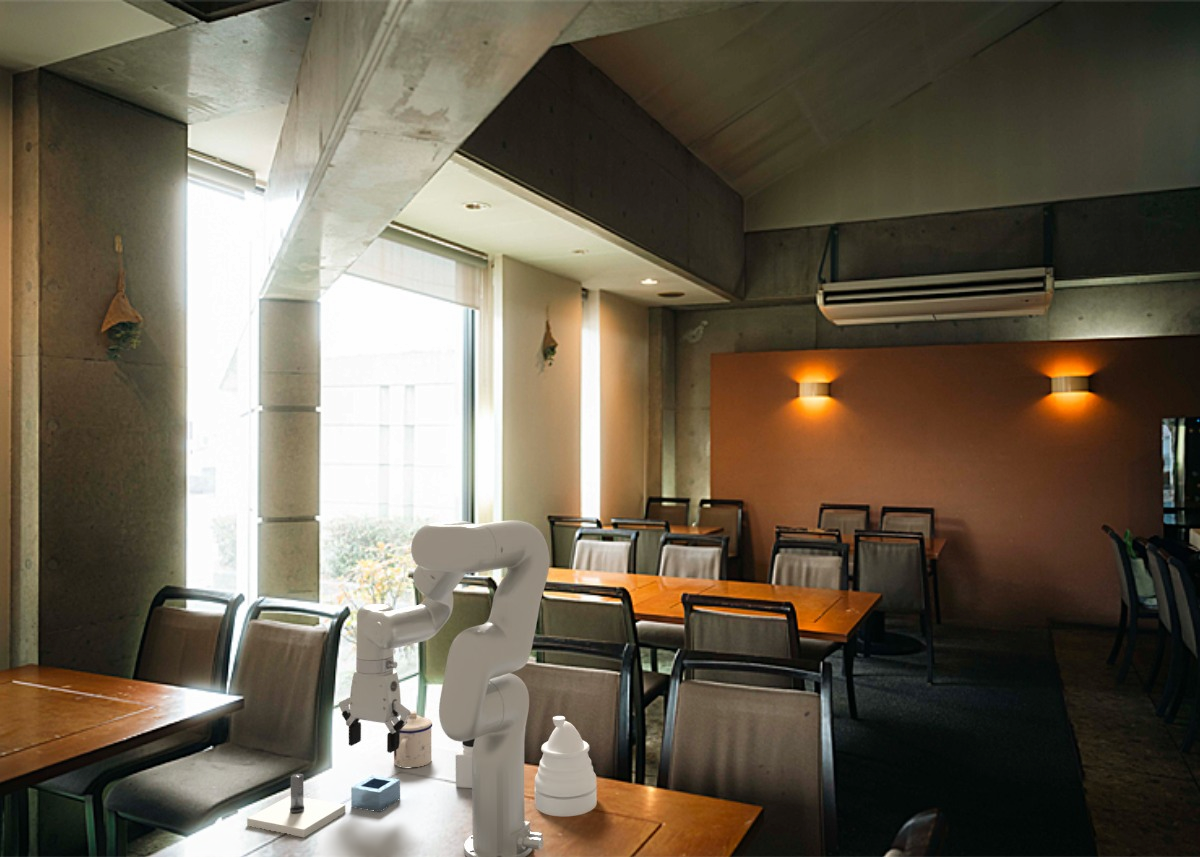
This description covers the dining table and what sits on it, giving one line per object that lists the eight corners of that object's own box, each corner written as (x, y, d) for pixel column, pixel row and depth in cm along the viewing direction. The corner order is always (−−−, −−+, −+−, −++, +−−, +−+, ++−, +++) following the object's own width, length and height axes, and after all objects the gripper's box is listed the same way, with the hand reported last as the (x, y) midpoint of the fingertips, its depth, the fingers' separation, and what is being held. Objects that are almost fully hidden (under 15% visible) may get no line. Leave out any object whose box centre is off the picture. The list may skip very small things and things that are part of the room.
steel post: (307, 809, 170) (307, 774, 170) (297, 815, 167) (297, 779, 167) (296, 807, 171) (296, 772, 171) (286, 813, 168) (286, 777, 168)
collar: (400, 798, 178) (400, 779, 178) (379, 812, 172) (379, 792, 172) (372, 794, 181) (372, 775, 181) (351, 807, 174) (351, 787, 174)
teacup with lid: (400, 754, 204) (400, 706, 205) (437, 755, 203) (437, 706, 204) (382, 773, 193) (382, 721, 193) (421, 774, 192) (420, 722, 192)
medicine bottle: (486, 789, 183) (486, 733, 183) (455, 787, 184) (454, 731, 184) (497, 777, 190) (496, 723, 190) (466, 775, 191) (466, 721, 191)
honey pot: (570, 822, 166) (569, 729, 167) (521, 806, 174) (521, 717, 175) (609, 800, 177) (608, 713, 177) (561, 786, 184) (561, 702, 185)
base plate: (345, 812, 172) (345, 804, 172) (303, 837, 161) (303, 829, 161) (291, 802, 177) (291, 794, 177) (247, 825, 166) (247, 818, 166)
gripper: (420, 665, 177) (419, 747, 177) (352, 656, 184) (351, 735, 184) (398, 674, 170) (397, 759, 170) (329, 664, 177) (328, 746, 177)
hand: (373, 746), depth 177 cm, fingers open, 9 cm apart
